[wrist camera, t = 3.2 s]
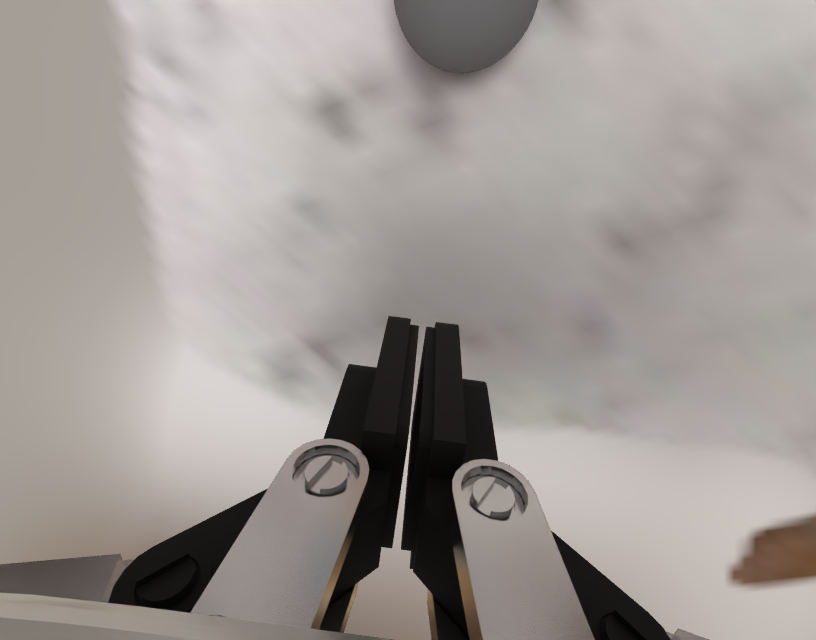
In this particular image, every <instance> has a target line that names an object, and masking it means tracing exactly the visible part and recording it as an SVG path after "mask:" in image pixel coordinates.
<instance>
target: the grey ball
mask: <svg viewBox="0 0 816 640" xmlns="http://www.w3.org/2000/svg"><path fill="white" fill-rule="evenodd" d="M537 3H538V0H394V4H395V9H396V15H397V18H398V21H399V24H400V27H401V29H402V31H403V33H404V35H405V37H406V39H407V41H408V42H409V44H410V45H411V46H412V48H413V49H414V50H415V51H416V52H417V53H418V54H419V55H420V56H421V57H422V58H423V59H424V60H426V61H427V62H428V63H430V64H432V65H434V66H435V67H437V68H440V69H443V70H445V71H450V72H459V73H465V72H473V71H477V70H481V69H484V68H486V67H488V66H490V65H492V64H494V63H496V62H498V61H499V60H500V59H502V58H503V57H504V56H506V55H507V54H508V53H509V52H510V51H511V50H512V49H513V48H514V47H515V45H516V44H517V43H518V42H519V40H520V39H521V38H522V36H523V35H524V33H525V32H526V30H527V28H528V26H529V24H530V22H531V20H532V18H533V15H534V13H535V10H536V7H537Z"/></svg>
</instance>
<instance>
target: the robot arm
mask: <svg viewBox="0 0 816 640" xmlns="http://www.w3.org/2000/svg"><path fill="white" fill-rule="evenodd" d="M410 322H411V319H408V318H401V317H393V316H389V317H388V321H387V325H386V330H385V334H384V339H383V343H382V347H381V352H380V356H379V360H378V365H377V368H375V367H368V366H360V365H352V364H349V365H348V367H347V370H346V373H345V376H344V379H343V382H342V385H341V388H340V391H339V394H338V397H337V400H336V403H335V406H334V409H333V412H332V415H331V418H330V421H329V424H328V427H327V430H326V433H325V436H324V439H320V440H314V441H311V442H308V443H305V444H303V445H302V446H300V447H299V448H297V449H296V450H294V451H293V452H292V454H291V455H290V456H289V457H288V458H287V459H286V461H285V463H284V464H283V466H282V467H281V469H280V471H279V472H278V474H277V475H276V477H275V479H274V480H273V482H272V483H271V485H270V486H269V488H268V489H266V490H264V491H262V492H260V493H258V494H256V495H254V496H252V497H250V498H248V499H246V500H244V501H242V502H240V503H238V504H237V505H234V506H233V507H231V508H229V509H227V510H225V511H223V512H221V513H219V514H217V515H215V516H213V517H211V518H209V519H207V520H205V521H203V522H201V523H199V524H197V525H195V526H193V527H191V528H189V529H187V530H185V531H183V532H181V533H179V534H177V535H175V536H173V537H171V538H169V539H167V540H165V541H164V542H161V543H159V544H157V545H155V546H154V547H152V548H150V549H149V550H147V551H146V552H144V553H143V554H141V555H139V556H138V557H137V558H136V559H134V560H122V556H121V554H112V555H101V556H90V557H78V558H68V559H56V560H45V561H33V562H22V563H11V564H0V640H392V639H384V638H377V637H369V636H362V635H355V634H347V633H344V631H345V628H346V625H347V622H348V618H349V615H350V612H351V609H352V606H353V603H354V600H355V596H356V593H357V588H358V582H359V581H360V580H361V579H363V578H364V577H366V576H367V575H368V574H370V573H371V572H372V571H374V570H375V569H376V568H378V567H379V560H380V552H381V547H386V548H392V545H393V538H394V531H395V525H396V518H397V511H398V504H399V498H400V490H401V484H402V477H403V471H404V464H405V457H406V450H407V443H408V435H409V426H410V416H411V405H412V395H413V384H414V373H415V363H416V352H417V341H418V331H419V326H417V325H410ZM401 549H402V550H409V551H411V559H410V569H413V572H414V573H415V574H416V575H417V577H418V578H419V579H420V580H421V581H422V582H423V584H424V585H425V586H426V587H427V588H428V590H427V605H428V614H429V623H430V631H431V640H709V639H706V638H703V637H700V636H697V635H695V634H692V633H689V632H687V631H684V630H681V629H677V631H676V632H675V634H671V633H669V632H666V631H665V630H664V629H663V627H662V626H661V625H660V624H659V623H658V622H657V621H656V620H655V619H654V618H653V617H652V616H651V615H650V614H649V613H648V612H647V611H646V610H645V609H643V608H642V607H641V606H640V605H639V604H638V603H636V602H635V601H634V600H633V599H631V598H630V597H629V596H628V595H627V594H626V593H624V592H623V591H622V590H621V589H620V588H618V587H617V586H616V585H615V584H614V583H612V582H611V581H610V580H609V579H608V578H607V577H606V576H604V575H603V574H602V573H601V572H600V571H598V570H597V569H596V568H595V567H594V566H592V565H591V564H590V563H589V562H588V561H587V560H585V559H584V558H583V557H582V556H581V555H579V554H578V553H577V552H576V551H575V550H573V549H572V548H571V547H570V546H569V545H568V544H566V543H565V542H564V541H563V540H562V539H561V538H559V537H558V536H557V535H556V534H555V533H553V532H552V531H551V530H550V527H549V525H548V522H547V520H546V517H545V515H544V512H543V510H542V508H541V505H540V502H539V500H538V498H537V495H536V492H535V491H534V489H533V488H532V486H531V484H530V482H529V481H528V480H527V479H526V478H525V477H524V476H523V475H522V474H521V473H520V472H519V471H517V470H516V469H514V468H513V467H511V466H510V465H507V464H505V463H502V462H499V461H498V457H497V450H496V443H495V436H494V430H493V423H492V416H491V410H490V403H489V396H488V390H487V385H486V383H485V382H483V381H475V380H467V379H462V366H461V352H460V338H459V326H458V325H455V324H447V323H439V322H436V324H435V328H432V327H426V332H425V339H424V345H423V352H422V359H421V365H420V372H419V379H418V385H417V392H416V399H415V405H414V412H413V420H412V429H411V440H410V452H409V464H408V476H407V487H406V498H405V509H404V521H403V532H402V545H401Z"/></svg>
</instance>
